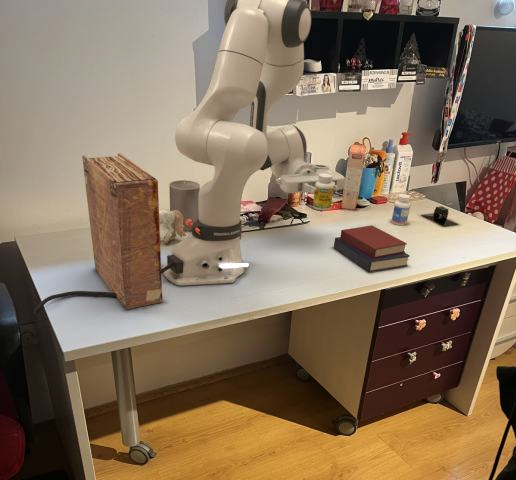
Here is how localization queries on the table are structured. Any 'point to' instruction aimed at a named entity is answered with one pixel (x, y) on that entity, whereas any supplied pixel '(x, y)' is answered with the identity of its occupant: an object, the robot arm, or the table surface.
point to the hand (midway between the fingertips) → (325, 190)
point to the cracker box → (353, 176)
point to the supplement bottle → (323, 192)
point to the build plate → (440, 217)
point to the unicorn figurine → (168, 219)
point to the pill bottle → (401, 210)
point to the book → (125, 228)
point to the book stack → (372, 248)
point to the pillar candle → (184, 200)
